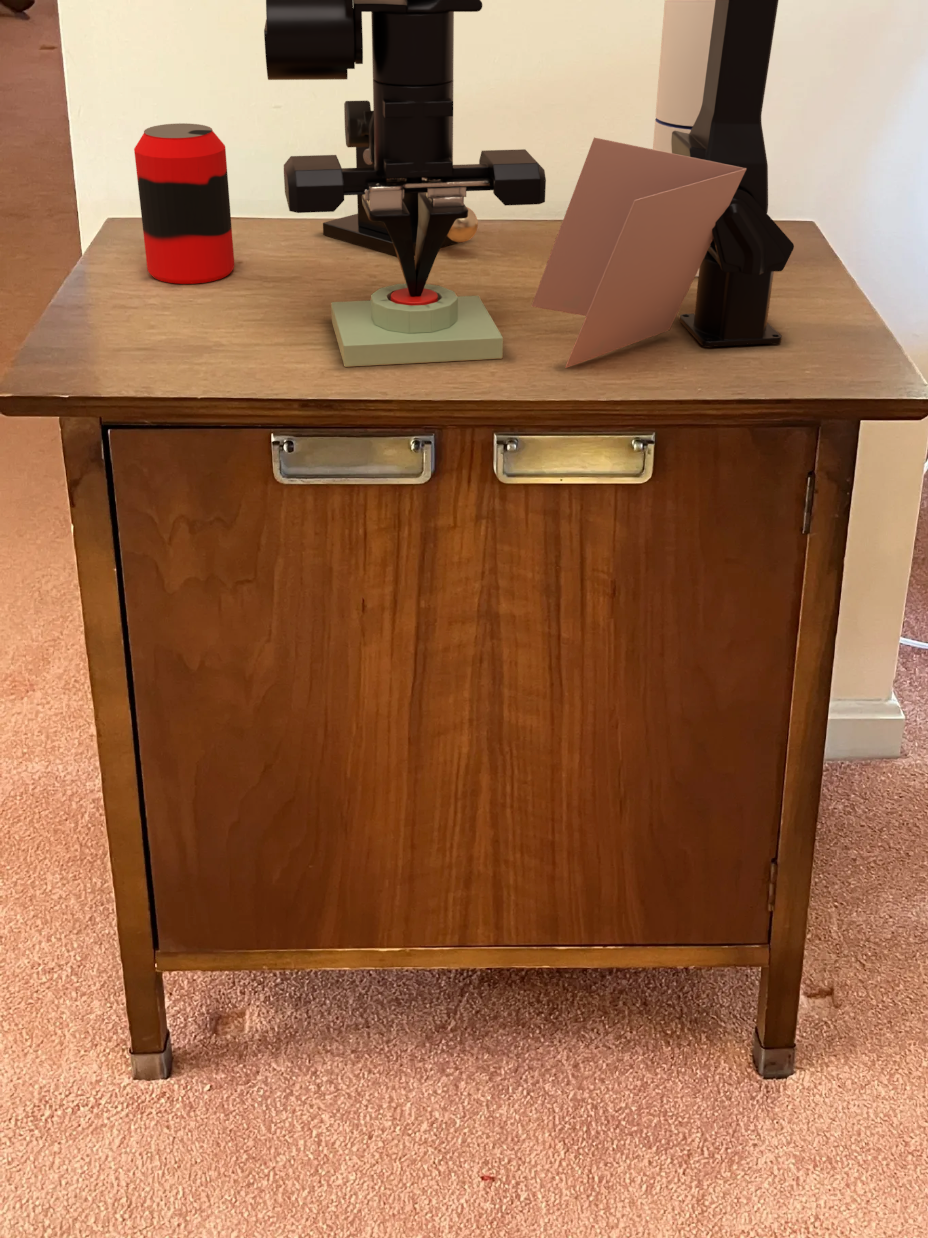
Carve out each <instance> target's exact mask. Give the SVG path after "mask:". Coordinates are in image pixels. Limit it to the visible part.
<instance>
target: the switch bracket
mask: <svg viewBox="0 0 928 1238" xmlns="http://www.w3.org/2000/svg"><path fill="white" fill-rule="evenodd" d="M355 162H356V164H355V165H356V166H355V168H367V167H375V162H371V161H370V159H369V147H355ZM401 180H402V181H406V179H401ZM401 180H399V179H395V180H393V179H390V180H388V179H386V181H387V182H394V181H401ZM362 196H363V195H356V197H357V198H356V201H357V204H356V205H357V213H355V214H350V215H346V216H344V217H339V218H335V219H331V220H328V221H324V222H322V234H323V236H325V237H329V238H333V239H336V240H340V241H343V242H347V243H350V244H354V245H357V246H361V247H363V248H367V249H370V250H374V251H377V252H381V253H384V254H388V255H390V256H393V257H397V254H396V251H395V248H394V245H393V242H392V239H391V237H390V235H389V233H388V231H387V228H386V226H385V224H384V223H383V222H374V221H370V220H369V218H368V216H367V213H366V211H365V209H364V207H363V204H362ZM403 202H404V204H405V206H406V208H407V210H408V212H409V214H410V221H411V230H412V240H413V250H414V257H415V250H416V240H417V230H418V193H404V199H403ZM454 244H459V242H455V241H453V240H451V239H450V238H448V237H447V236H446V238H445V240H444V242H443V243H442V245H441V247H440V249H442V248H445V247H448V246H451V245H454Z"/></svg>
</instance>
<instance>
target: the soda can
mask: <svg viewBox="0 0 928 1238" xmlns="http://www.w3.org/2000/svg"><path fill="white" fill-rule="evenodd" d="M133 151H134V161H135V170H136V180H137V187H138V197H139V206H140V214H141V224H142V232H143V241H144V251H145V259H146V269H147V272H148V273H149V274H150V275H151V276H152V277H153V278H154V279H156V280H158V281H160V282H164V283H168V284H177V285H180V284H181V285H196V284H197V285H198V284H204V283H211V282H216V281H219V280H221V279H223V278H226V277H228V276H229V275H230V274H231V273H232V271H233V270H234V269H235V254H234V253H235V252H234V241H233V230H232V216H231V203H230V202H231V201H230V188H229V177H228V175H229V174H228V164H227V151H226V145H225V144H224V142H223V141H222V140H221V139H220V137H219V136H218V135H217V134H216V133H215V132H214V131H213V128H212V127H210V126H208V125H205V124H198V123H187V122H186V123H181V122H179V123H165V124H158V125H153V126H150V127H148V128H145V129H144V130H143V133H142V135H141V137H140V138H139V140H138V142H137V144H136V145H135V146H134V148H133Z"/></svg>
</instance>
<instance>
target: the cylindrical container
mask: <svg viewBox="0 0 928 1238" xmlns="http://www.w3.org/2000/svg"><path fill="white" fill-rule="evenodd" d="M714 8H715V0H664V7H663V17H662V30H661V40H660V41H661V43H660V56H659V66H658V67H659V68H658V81H657V92H656V93H657V94H656V107H655V120H654V130H653V142H652V149H653V150H658V151H663V152H668V153H672V146H671V139H672V132H673V131H679V132H684V133H688V134H689V133H690V131H691V129H692V127H693V125H694V123H695V121H696V119H697V117H698V115H699V112H700V110H701V106H702V102H703V94H704V86H705V78H706V70H707V63H708V55H709V47H710V39H711V31H712V24H713V16H714ZM698 276H699V269H698V271H697V273H696V275H695V277H696V278H697V277H698Z"/></svg>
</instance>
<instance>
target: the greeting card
mask: <svg viewBox="0 0 928 1238" xmlns="http://www.w3.org/2000/svg"><path fill="white" fill-rule="evenodd" d="M745 171H746V168H741V167H737V166H732V165H727V164H722V163H717V162H712V161H707V160H702V159H697V158H693V157H688V156H683V155H678V154H673V153H668V152H663V151H658V150H653V148H649V147H644V146H639V145H633V144H628V143H624V142H620V141H619V142H618V141H613V140H609V139H604V138H600V137H594V136H593V139H592V142H591V143H590V147H589V150H588V152H587V154H586V157H585V161H584V163H583V166H582V168H581V172H580V174H579V176H578V179H577V182H576V184H575V187H574V189H573V193H572V194H571V195H572V196H571V197H570V201H569V203H568V206H567V209H566V212H565V213H564V216H563V220H562V222H561V225H560V227H559V230H558V233H557V236H556V238H555V241H554V244H553V246H552V249H551V252H550V255H549V258H548V260H547V262H546V265H545V268H544V270H543V273H542V276H541V279H540V280H539V284H538V286H537V289H536V292H535V295H534V297H533V300H532V303H531V305H530V307H531V308H538V309H543V310H547V311H548V310H549V311H554V312H561V313H567V314H573V315H578V316H584V317H585V318H584V320H583V323H582V326H581V327H580V329H579V333H578V335H577V338H576V340H575V343H574V345H573V347H572V349H571V352H570V354H569V357H568V359H567V362H566V364H565V366H564V368H565V369H567V368H569V367H573V366H576V365H578V364H581V363H583V362H586V361H589V360H591V359H594V358H598V357H601V356H603V355H607V354H609V353H611V352H614V351H617V350H620V349H621V348H624V347H627V346H630V345H632V344H636V343H639V342H640V341H644V340H646V339H650V338H652V337H655V336H657V335H661V334H664V333H666V332H668V331H670V330H671V327H672V325H673V323H674V321H675V319H676V317H677V315H678V313H679V311H680V309H681V307H682V305H683V303H684V300H685V298H686V296H687V294H688V292H689V290H690V289H691V286H692V284H693V281H695V275H696V273H697V271H698V269H699V267H700V265H701V263H702V261H703V259H704V257H705V255H706V253H707V250H708V248H709V246H710V244H711V242H712V240H713V236H712V229H713V228H714V226H715V225H716V224H715V222H716V221H717V220H718V219H719V218H720V216H721V215H722V214H723V213H724V212H725V210H726V209H727V208H728V207H729V205H730V202H731V200H732V198H733V196H734V194H735V192H736V190H737V188H738V186H739V184H740V182H741V180H742V177H743V175H744V173H745Z"/></svg>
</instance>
